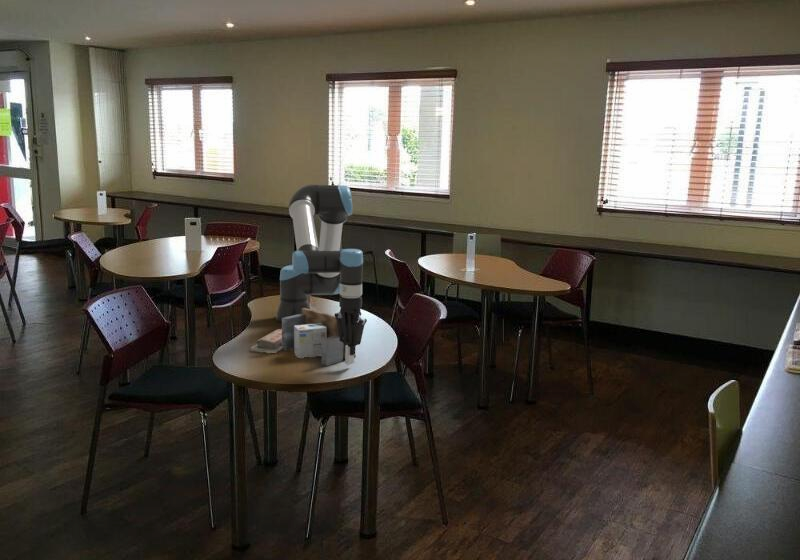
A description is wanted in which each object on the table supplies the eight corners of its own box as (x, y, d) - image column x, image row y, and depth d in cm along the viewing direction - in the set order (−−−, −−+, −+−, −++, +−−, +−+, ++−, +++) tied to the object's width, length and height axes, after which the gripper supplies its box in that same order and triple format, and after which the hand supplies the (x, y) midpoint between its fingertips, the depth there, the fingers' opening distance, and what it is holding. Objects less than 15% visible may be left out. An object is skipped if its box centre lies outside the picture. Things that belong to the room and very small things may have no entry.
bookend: (321, 364, 227) (321, 339, 225) (338, 359, 233) (338, 334, 231) (326, 366, 225) (326, 340, 223) (342, 360, 231) (343, 336, 229)
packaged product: (273, 326, 255) (297, 329, 252) (273, 338, 256) (296, 341, 253) (250, 339, 238) (275, 342, 235) (250, 352, 239) (275, 355, 236)
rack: (281, 349, 241) (281, 312, 238) (307, 342, 251) (308, 307, 248) (329, 365, 226) (330, 326, 223) (355, 357, 235) (356, 319, 233)
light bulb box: (321, 350, 242) (321, 322, 240) (327, 356, 236) (327, 327, 234) (293, 353, 238) (293, 324, 236) (298, 359, 232) (298, 329, 230)
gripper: (328, 294, 220) (328, 361, 225) (357, 301, 212) (356, 370, 217) (344, 290, 226) (343, 356, 230) (373, 297, 218) (371, 365, 222)
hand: (349, 363), depth 224 cm, fingers closed
